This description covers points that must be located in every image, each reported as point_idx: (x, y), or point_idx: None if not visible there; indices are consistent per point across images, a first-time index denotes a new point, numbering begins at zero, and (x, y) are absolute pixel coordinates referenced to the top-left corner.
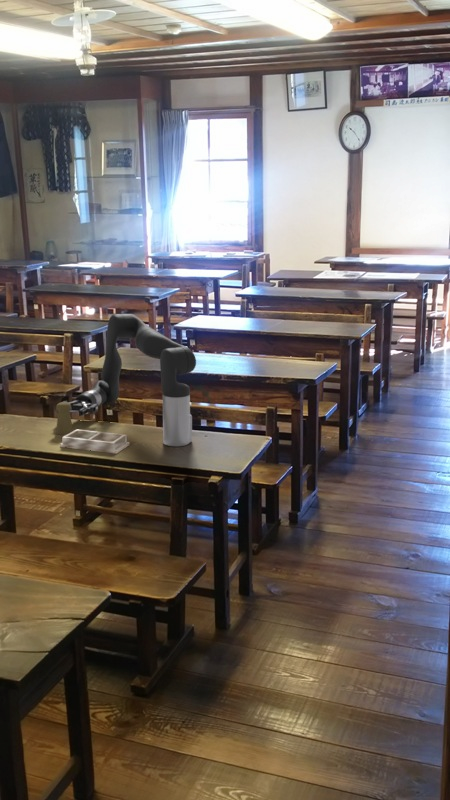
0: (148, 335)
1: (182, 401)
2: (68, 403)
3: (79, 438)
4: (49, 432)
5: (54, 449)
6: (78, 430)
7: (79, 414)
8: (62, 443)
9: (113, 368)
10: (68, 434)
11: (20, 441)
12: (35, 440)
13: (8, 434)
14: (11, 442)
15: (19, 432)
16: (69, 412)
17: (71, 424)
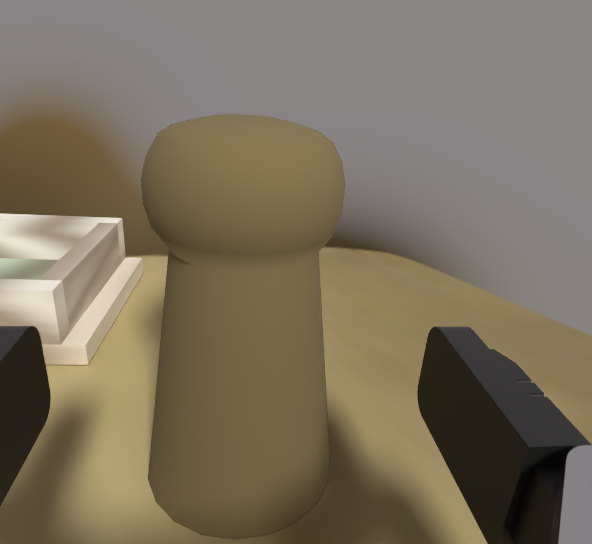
0: None
1: None
2: (173, 126)
3: (8, 217)
4: (377, 422)
5: (159, 256)
6: (31, 280)
7: (39, 382)
8: (130, 263)
9: None
10: (95, 237)
11: (394, 285)
12: (334, 303)
13: (573, 333)
14: (419, 274)
15: (569, 370)
16: (168, 254)
17: (156, 394)
